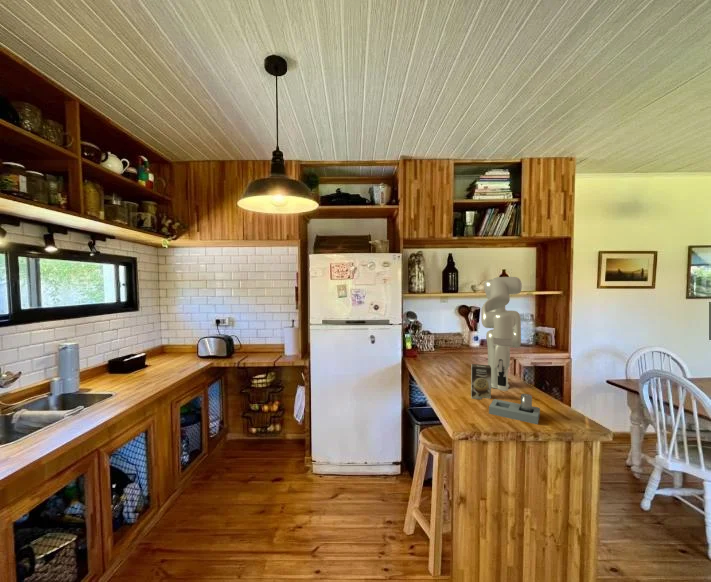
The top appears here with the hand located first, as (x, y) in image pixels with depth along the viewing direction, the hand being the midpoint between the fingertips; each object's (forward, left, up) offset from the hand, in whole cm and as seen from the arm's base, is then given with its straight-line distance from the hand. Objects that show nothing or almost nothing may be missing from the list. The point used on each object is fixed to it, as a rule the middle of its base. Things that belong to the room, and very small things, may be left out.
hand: (502, 383), depth 131 cm
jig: (0, +4, -13) cm, 14 cm away
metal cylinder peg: (0, +9, -12) cm, 15 cm away
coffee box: (-16, -13, -13) cm, 24 cm away
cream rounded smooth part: (0, 0, -2) cm, 2 cm away
